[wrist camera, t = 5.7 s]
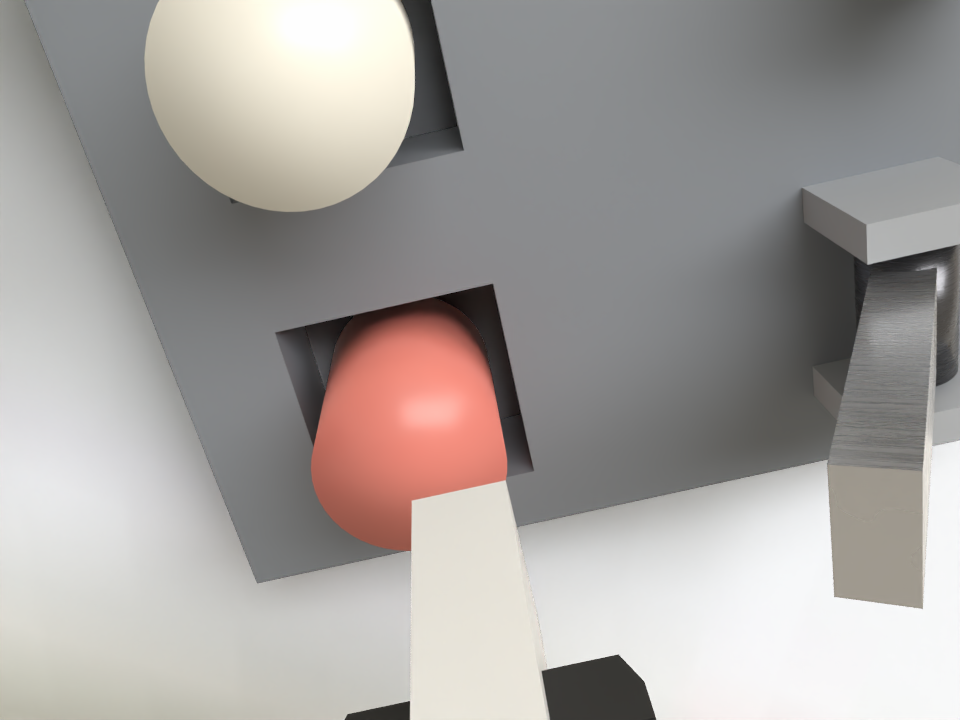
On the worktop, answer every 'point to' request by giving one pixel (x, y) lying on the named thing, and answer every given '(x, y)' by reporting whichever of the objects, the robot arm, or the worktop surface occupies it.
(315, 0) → the button ivory
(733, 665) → the worktop surface
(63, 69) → the panel
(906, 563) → the lever
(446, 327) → the button red
